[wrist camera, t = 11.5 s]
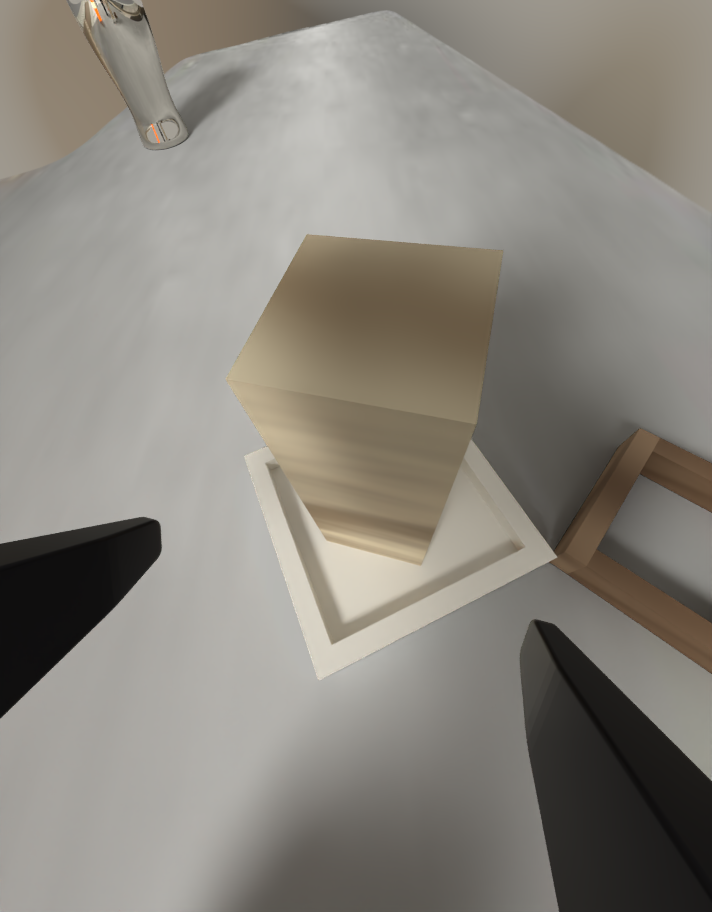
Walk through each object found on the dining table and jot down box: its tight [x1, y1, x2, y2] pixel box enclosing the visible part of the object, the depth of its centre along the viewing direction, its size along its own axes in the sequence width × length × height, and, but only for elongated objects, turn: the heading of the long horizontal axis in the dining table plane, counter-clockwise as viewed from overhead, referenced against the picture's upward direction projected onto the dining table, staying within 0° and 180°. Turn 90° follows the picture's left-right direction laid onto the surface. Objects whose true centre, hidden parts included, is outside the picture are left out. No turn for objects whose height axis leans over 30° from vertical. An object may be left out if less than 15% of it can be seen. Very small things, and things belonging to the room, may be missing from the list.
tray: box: [244, 439, 557, 680], centre depth 19 cm, size 12×12×2 cm
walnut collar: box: [549, 428, 712, 674], centre depth 17 cm, size 8×8×2 cm
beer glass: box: [67, 0, 189, 150], centre depth 40 cm, size 7×7×15 cm
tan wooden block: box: [226, 234, 503, 566], centre depth 14 cm, size 5×5×13 cm
